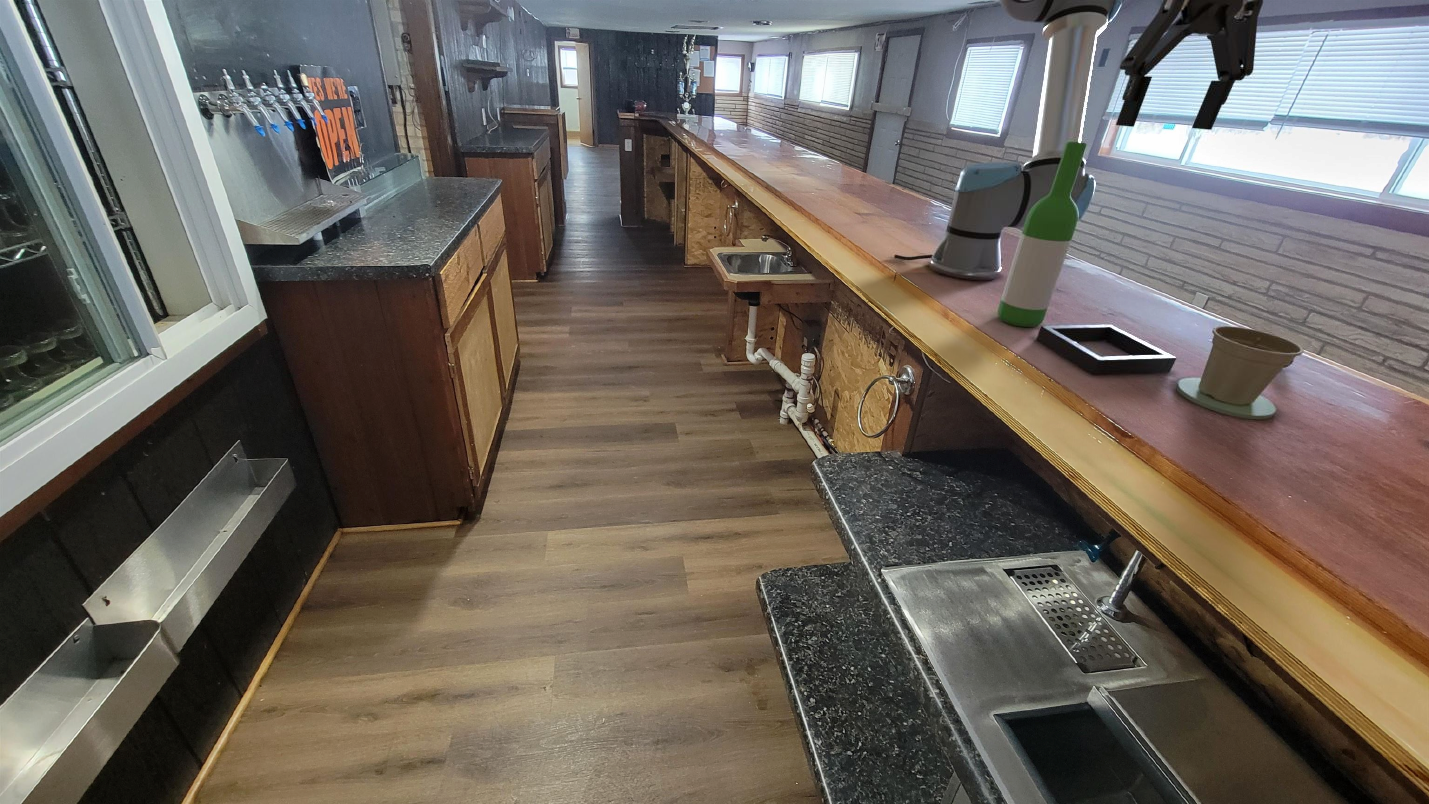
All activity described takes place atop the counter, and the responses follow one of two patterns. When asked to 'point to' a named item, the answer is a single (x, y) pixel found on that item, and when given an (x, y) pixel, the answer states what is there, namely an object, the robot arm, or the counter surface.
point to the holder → (1140, 361)
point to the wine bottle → (1043, 247)
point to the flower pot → (1244, 363)
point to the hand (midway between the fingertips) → (1163, 128)
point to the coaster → (1250, 411)
